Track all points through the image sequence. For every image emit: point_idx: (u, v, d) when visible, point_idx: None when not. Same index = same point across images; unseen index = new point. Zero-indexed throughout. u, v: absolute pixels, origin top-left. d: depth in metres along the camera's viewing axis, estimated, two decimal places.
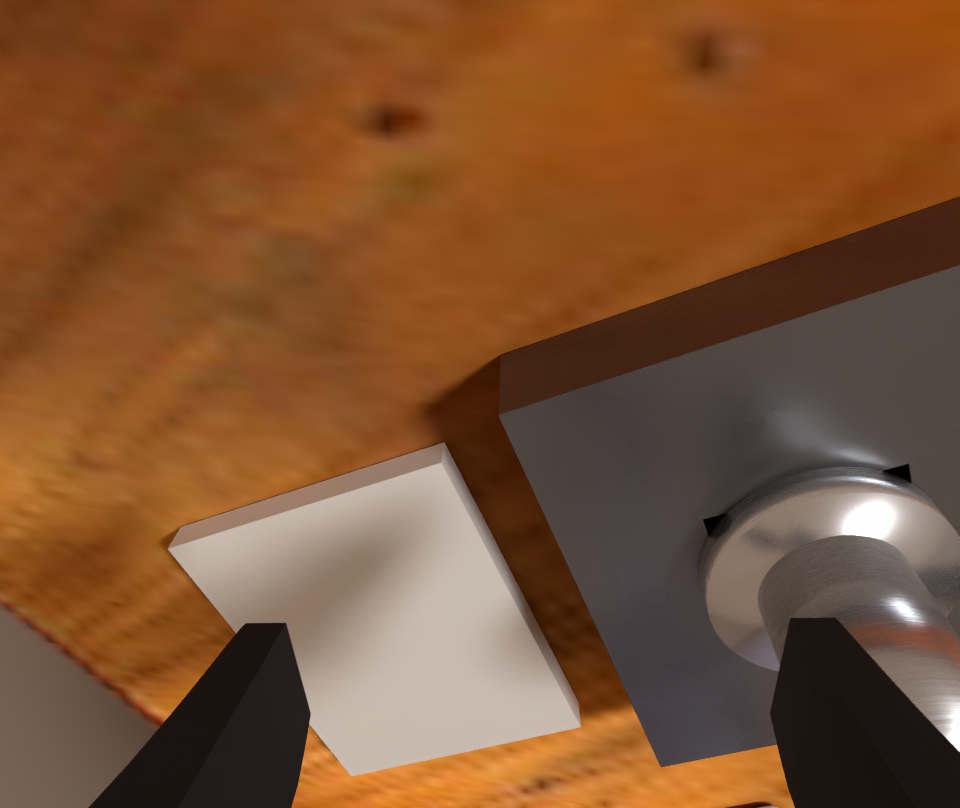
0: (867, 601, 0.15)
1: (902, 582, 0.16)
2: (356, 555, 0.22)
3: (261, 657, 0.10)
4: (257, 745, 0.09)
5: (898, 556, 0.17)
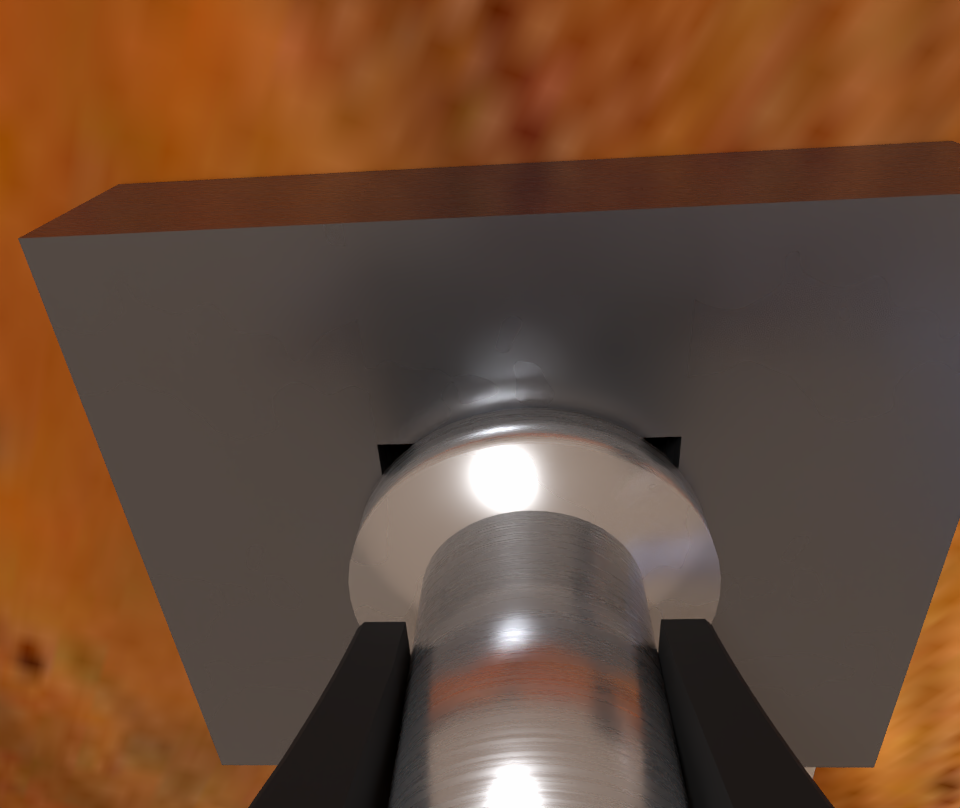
0: None
1: (432, 614, 0.10)
2: None
3: (390, 656, 0.10)
4: (390, 745, 0.09)
5: (456, 549, 0.11)
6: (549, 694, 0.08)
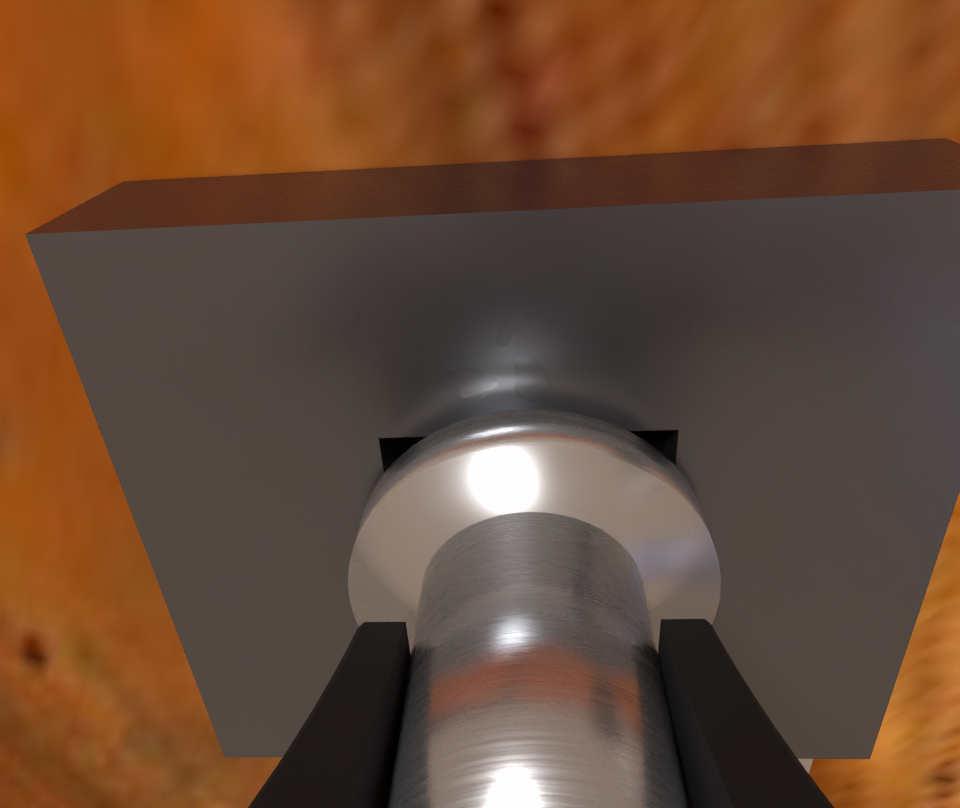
0: None
1: (432, 615, 0.10)
2: None
3: (390, 656, 0.10)
4: (390, 745, 0.09)
5: (456, 550, 0.11)
6: (549, 696, 0.08)
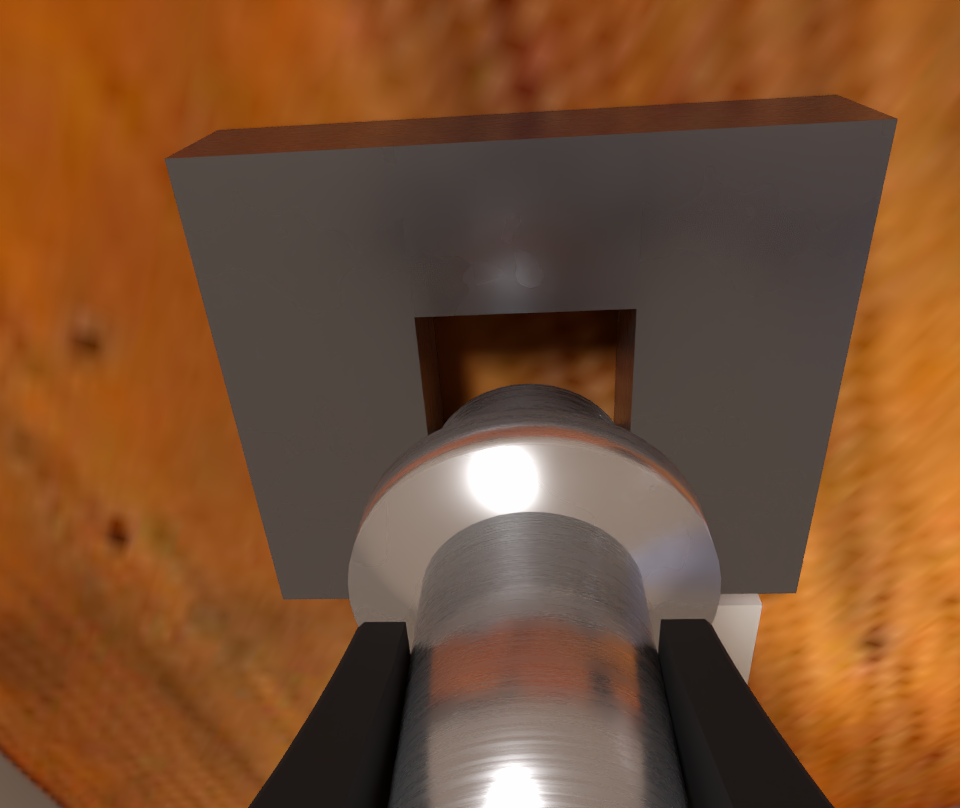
0: None
1: (431, 615, 0.10)
2: None
3: (390, 656, 0.10)
4: (389, 745, 0.09)
5: (456, 550, 0.11)
6: (549, 696, 0.08)
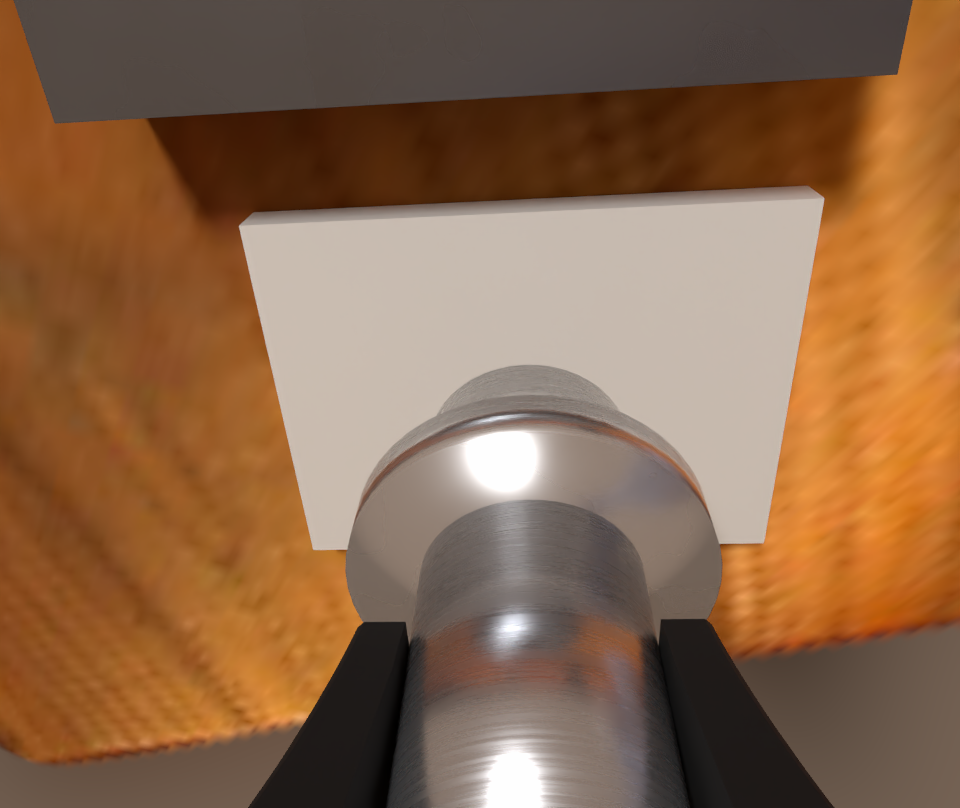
0: None
1: (429, 606, 0.10)
2: (366, 378, 0.17)
3: (390, 656, 0.10)
4: (389, 745, 0.09)
5: (454, 539, 0.11)
6: (547, 692, 0.08)
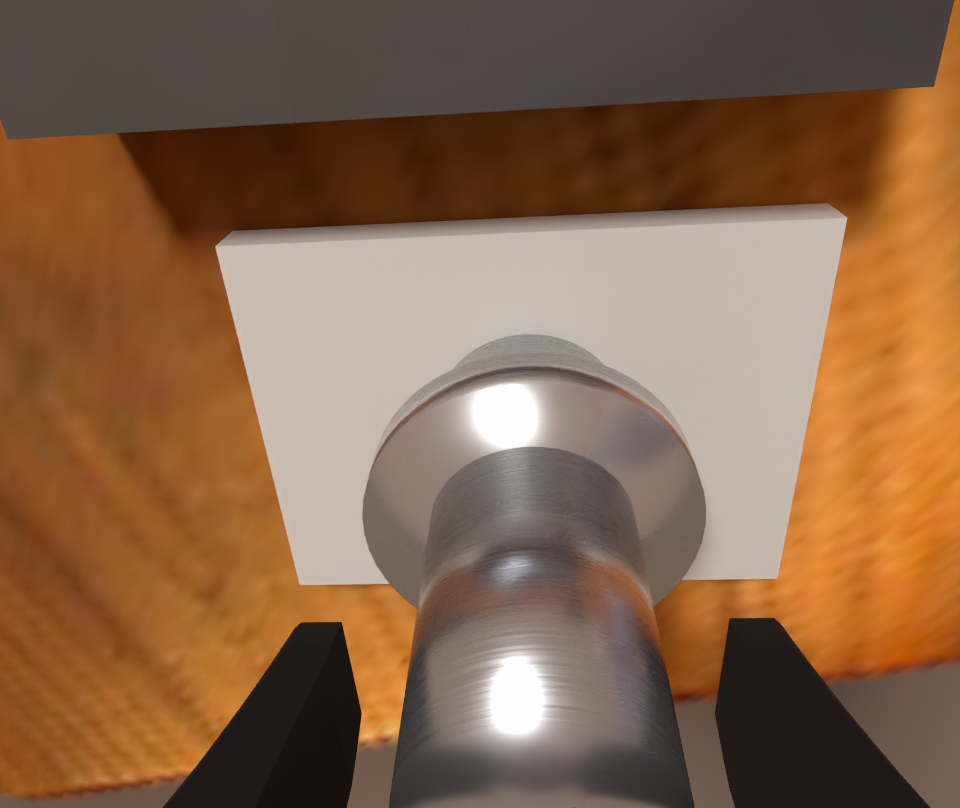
0: None
1: (440, 539, 0.11)
2: (354, 407, 0.16)
3: (321, 657, 0.10)
4: (319, 745, 0.09)
5: (462, 482, 0.12)
6: (547, 598, 0.09)
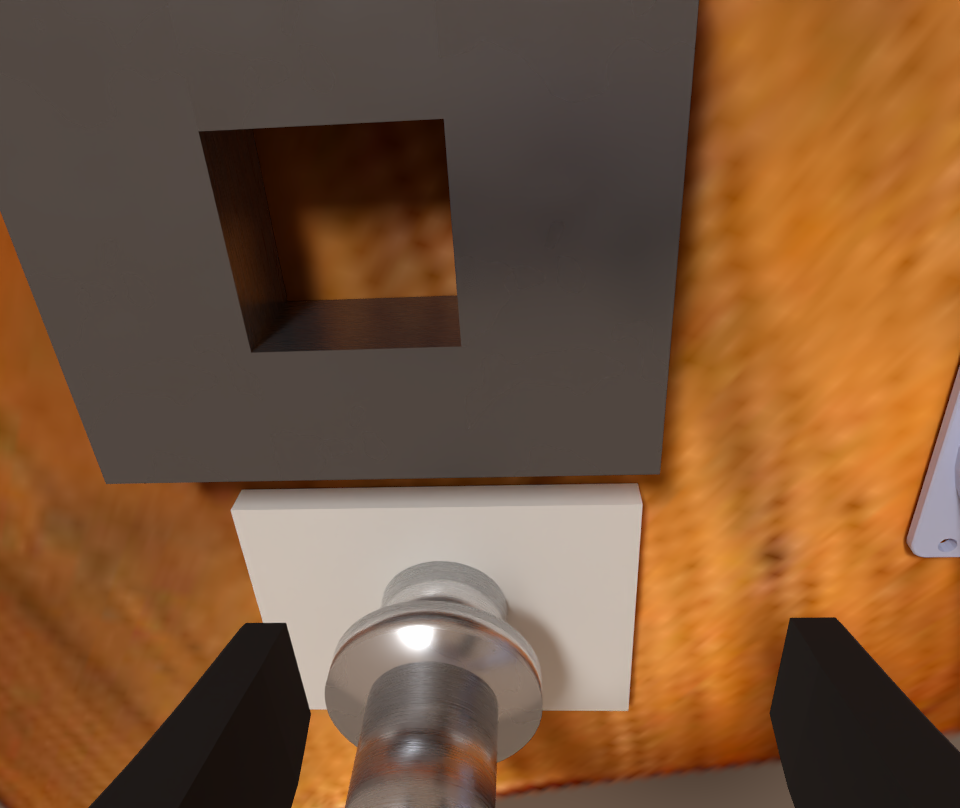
0: None
1: (368, 725, 0.19)
2: (324, 601, 0.23)
3: (261, 657, 0.10)
4: (257, 745, 0.09)
5: (384, 684, 0.19)
6: (419, 778, 0.17)
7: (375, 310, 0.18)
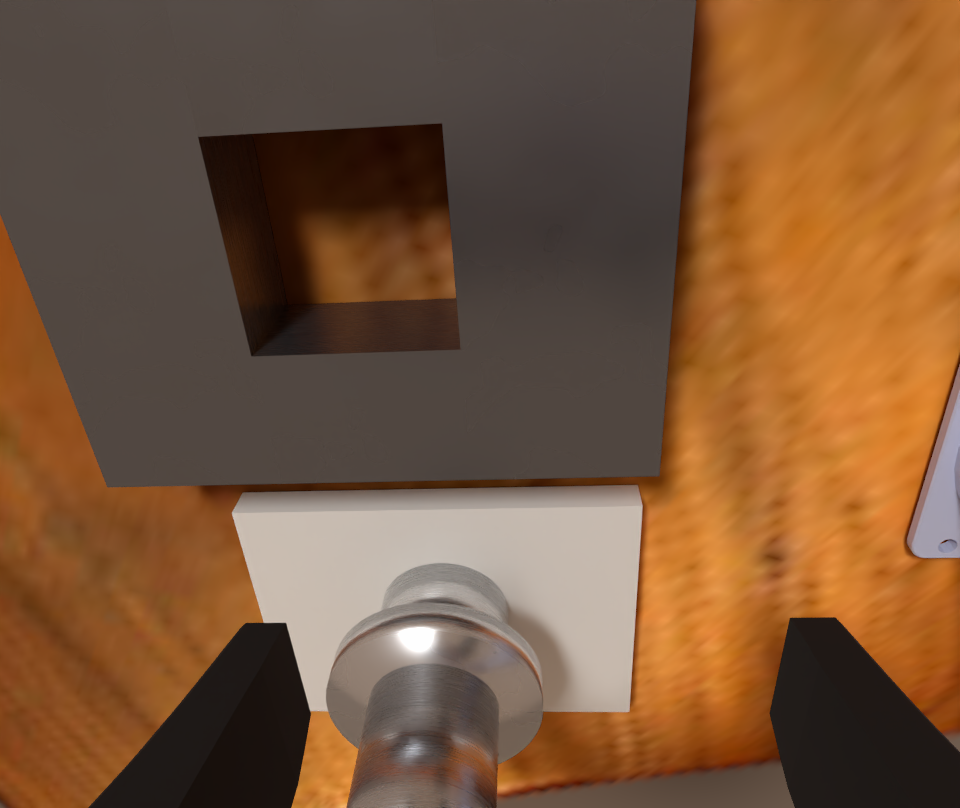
0: None
1: (369, 727, 0.19)
2: (326, 603, 0.24)
3: (261, 657, 0.10)
4: (257, 745, 0.09)
5: (385, 686, 0.19)
6: (420, 780, 0.17)
7: (375, 313, 0.19)
